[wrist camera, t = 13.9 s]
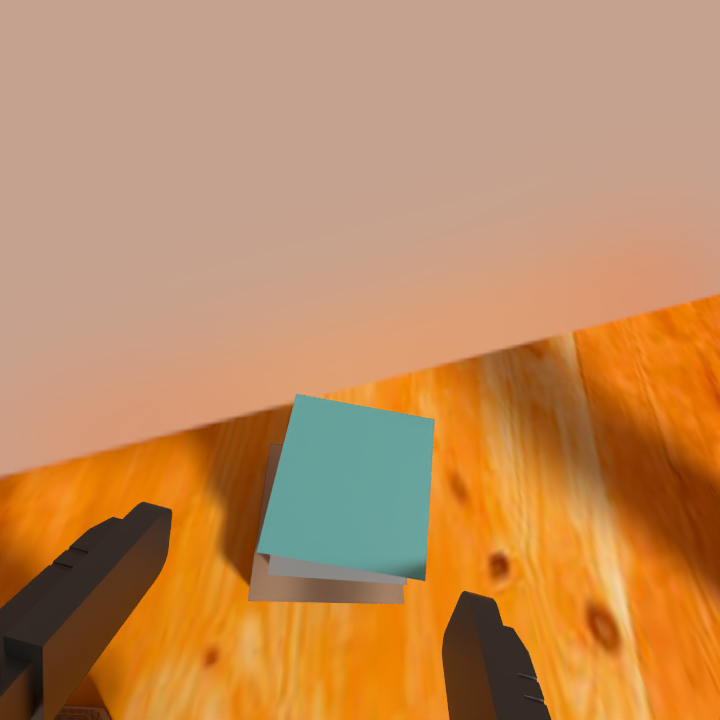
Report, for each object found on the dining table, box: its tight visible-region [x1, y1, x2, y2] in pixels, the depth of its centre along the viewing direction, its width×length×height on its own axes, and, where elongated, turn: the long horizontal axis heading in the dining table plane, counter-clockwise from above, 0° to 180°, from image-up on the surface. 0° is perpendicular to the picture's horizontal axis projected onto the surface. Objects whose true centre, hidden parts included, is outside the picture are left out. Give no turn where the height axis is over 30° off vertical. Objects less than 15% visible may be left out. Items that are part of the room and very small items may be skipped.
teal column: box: [257, 394, 434, 581], centre depth 15 cm, size 5×5×10 cm
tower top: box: [267, 555, 407, 585], centre depth 22 cm, size 7×7×4 cm
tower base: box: [248, 444, 404, 604], centre depth 25 cm, size 9×9×4 cm
